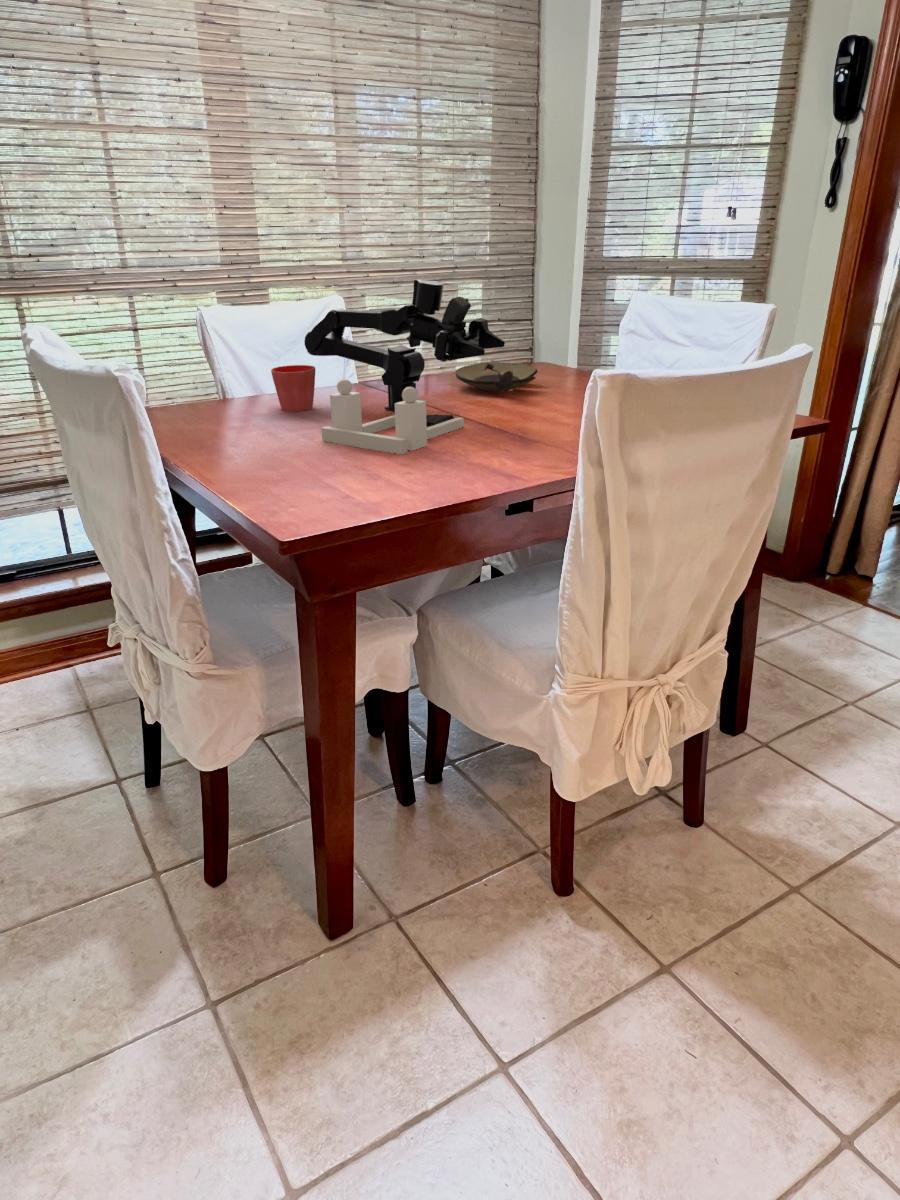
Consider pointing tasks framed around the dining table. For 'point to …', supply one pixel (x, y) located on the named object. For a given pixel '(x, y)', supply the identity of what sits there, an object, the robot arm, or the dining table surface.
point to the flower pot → (294, 386)
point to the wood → (437, 419)
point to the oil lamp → (496, 375)
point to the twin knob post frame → (382, 423)
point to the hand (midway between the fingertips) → (494, 348)
